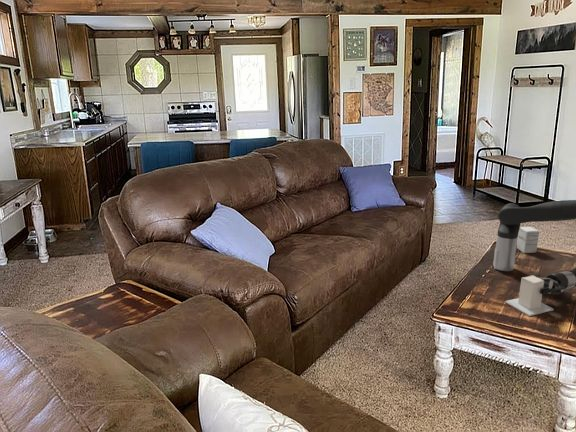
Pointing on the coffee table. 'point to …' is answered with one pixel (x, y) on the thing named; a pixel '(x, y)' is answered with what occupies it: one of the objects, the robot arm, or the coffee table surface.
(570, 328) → the coffee table surface
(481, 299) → the coffee table surface
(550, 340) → the coffee table surface
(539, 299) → the cream box
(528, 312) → the grey mat
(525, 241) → the supplement box
